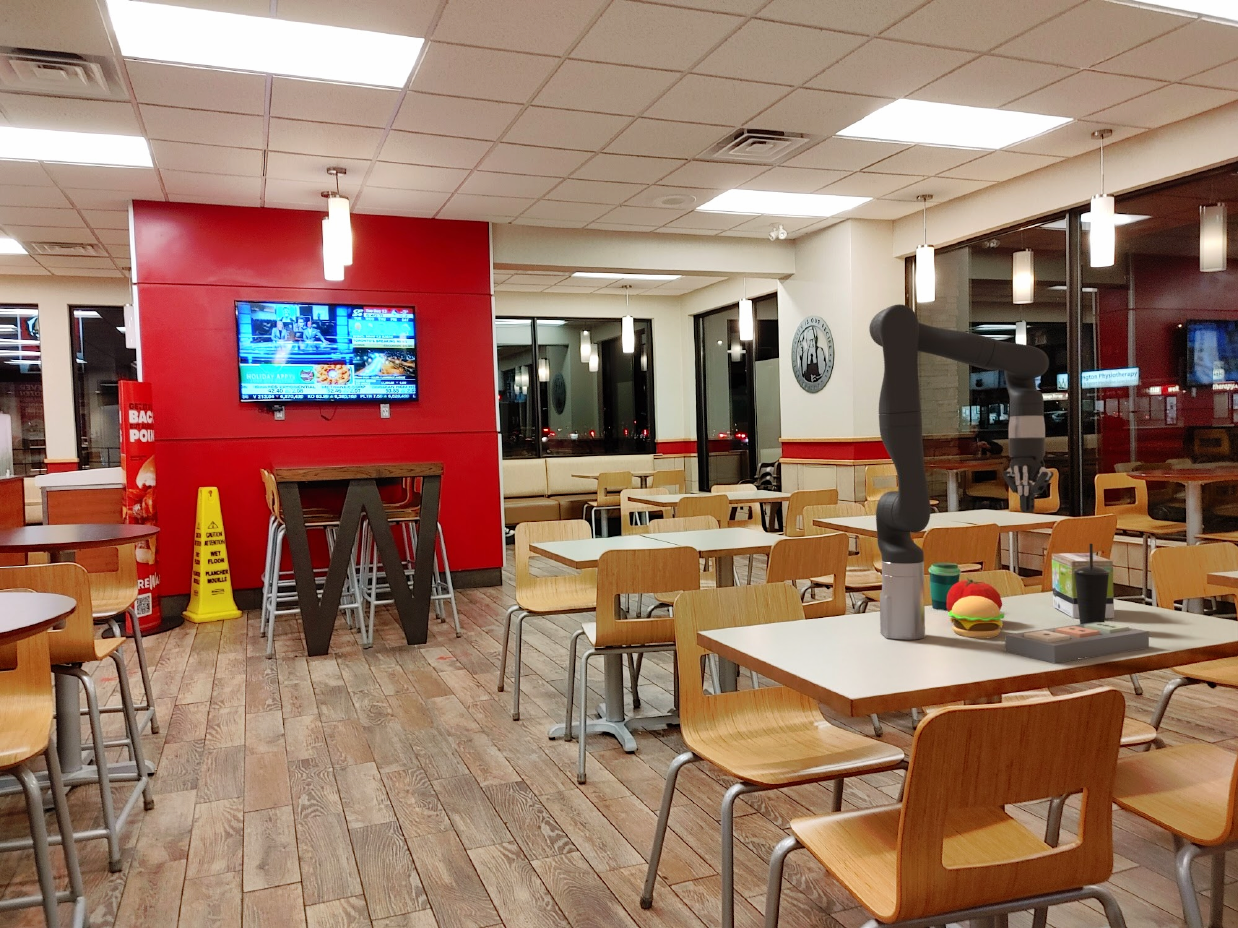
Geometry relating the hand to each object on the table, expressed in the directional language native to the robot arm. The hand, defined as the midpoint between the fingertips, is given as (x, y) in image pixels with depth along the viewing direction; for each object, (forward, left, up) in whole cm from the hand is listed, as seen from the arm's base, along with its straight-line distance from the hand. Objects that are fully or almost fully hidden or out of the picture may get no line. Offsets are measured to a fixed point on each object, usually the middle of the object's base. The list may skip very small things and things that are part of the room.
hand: (1027, 512), depth 201 cm
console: (+4, -16, -28) cm, 32 cm away
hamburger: (-11, +1, -28) cm, 31 cm away
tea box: (+24, +25, -28) cm, 45 cm away
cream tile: (-4, -20, -26) cm, 33 cm away
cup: (-8, +33, -28) cm, 44 cm away
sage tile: (+12, -11, -26) cm, 31 cm away
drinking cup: (+17, +5, -28) cm, 33 cm away
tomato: (-7, +14, -28) cm, 33 cm away
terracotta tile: (+4, -16, -26) cm, 31 cm away
